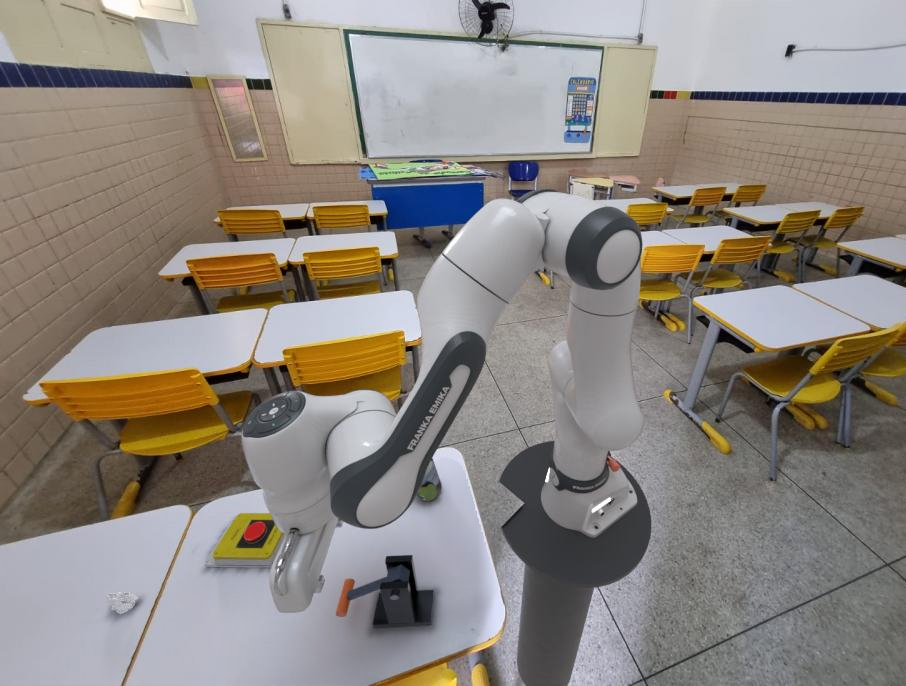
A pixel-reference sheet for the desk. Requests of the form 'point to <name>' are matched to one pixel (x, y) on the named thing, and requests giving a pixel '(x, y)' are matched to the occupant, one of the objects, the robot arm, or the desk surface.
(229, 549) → the emergency button
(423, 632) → the desk surface
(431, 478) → the beverage can
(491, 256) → the robot arm
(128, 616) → the desk surface
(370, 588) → the switch lever
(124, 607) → the white crumpled lump
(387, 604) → the switch bracket
